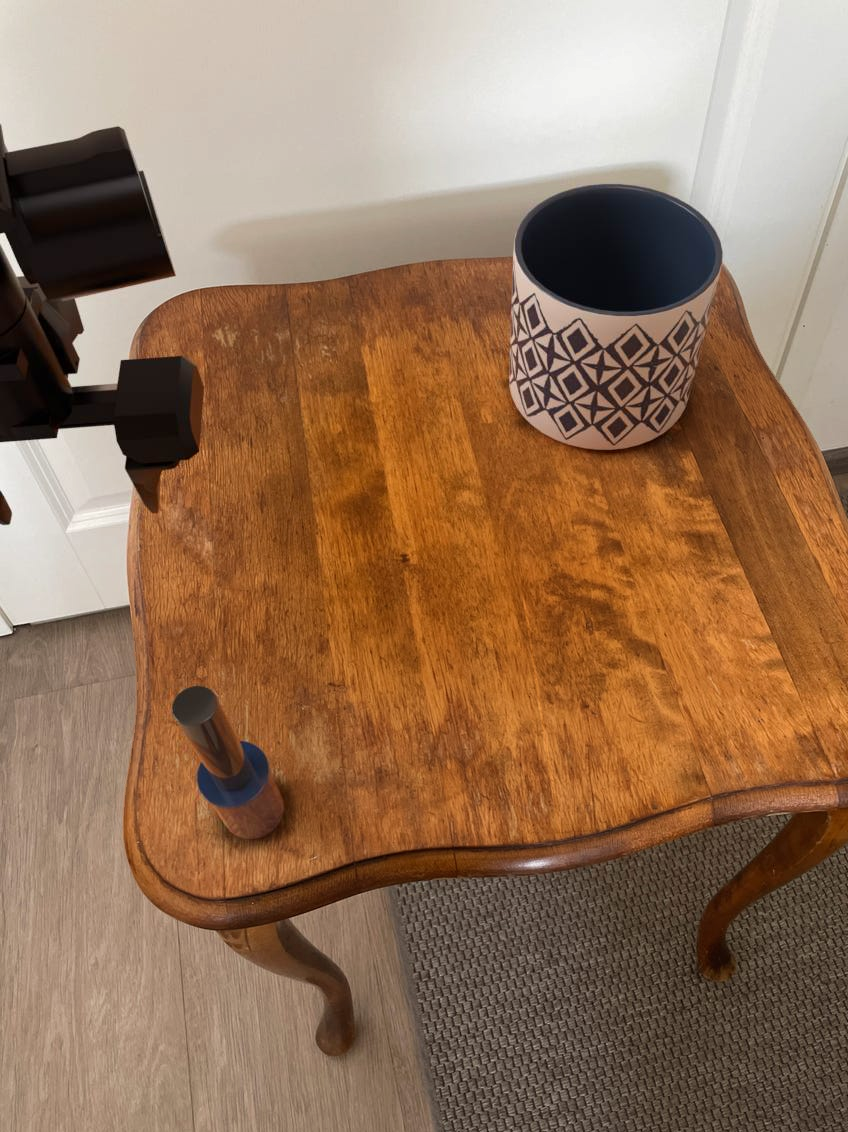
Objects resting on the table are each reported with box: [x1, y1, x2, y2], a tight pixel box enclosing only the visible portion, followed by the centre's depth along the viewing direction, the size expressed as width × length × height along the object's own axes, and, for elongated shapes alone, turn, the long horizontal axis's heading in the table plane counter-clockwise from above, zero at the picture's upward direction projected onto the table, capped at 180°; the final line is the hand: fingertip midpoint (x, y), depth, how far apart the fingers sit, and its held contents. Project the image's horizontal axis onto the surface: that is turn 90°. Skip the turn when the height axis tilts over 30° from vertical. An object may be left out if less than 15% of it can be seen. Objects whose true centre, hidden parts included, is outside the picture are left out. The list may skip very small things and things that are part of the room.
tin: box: [211, 772, 285, 840], centre depth 60 cm, size 4×4×6 cm
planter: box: [508, 183, 724, 451], centre depth 77 cm, size 16×16×14 cm
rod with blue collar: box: [171, 685, 271, 809], centre depth 54 cm, size 4×4×10 cm
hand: (82, 513), depth 59 cm, fingers open, 9 cm apart
